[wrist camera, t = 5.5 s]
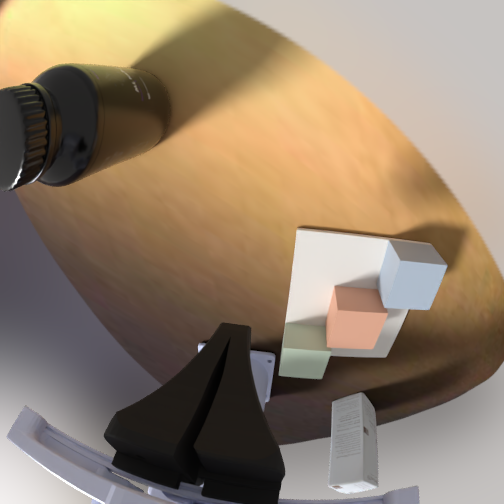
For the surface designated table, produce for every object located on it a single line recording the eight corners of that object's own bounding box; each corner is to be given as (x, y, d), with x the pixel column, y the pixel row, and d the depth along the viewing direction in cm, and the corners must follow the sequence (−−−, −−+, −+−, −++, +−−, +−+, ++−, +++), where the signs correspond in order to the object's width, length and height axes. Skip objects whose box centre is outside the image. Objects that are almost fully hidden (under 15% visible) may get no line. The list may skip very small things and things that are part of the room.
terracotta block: (367, 324, 23) (372, 349, 21) (325, 322, 24) (326, 347, 21) (380, 289, 21) (388, 313, 19) (334, 285, 22) (337, 310, 19)
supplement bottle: (180, 69, 16) (50, 51, 5) (167, 160, 19) (49, 228, 9) (103, 71, 16) (-26, 80, 6) (96, 151, 20) (-22, 204, 9)
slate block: (417, 287, 21) (428, 309, 18) (376, 284, 21) (384, 307, 19) (432, 245, 19) (447, 265, 16) (388, 239, 19) (400, 260, 17)
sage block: (321, 355, 26) (321, 379, 23) (281, 351, 26) (278, 375, 24) (329, 326, 24) (331, 351, 21) (285, 322, 24) (283, 347, 22)
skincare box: (376, 408, 31) (382, 487, 20) (346, 417, 32) (346, 494, 22) (361, 389, 29) (367, 481, 18) (328, 400, 31) (326, 488, 20)
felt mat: (385, 354, 25) (385, 357, 25) (281, 348, 27) (281, 351, 26) (430, 243, 19) (432, 245, 19) (297, 227, 20) (297, 229, 20)
